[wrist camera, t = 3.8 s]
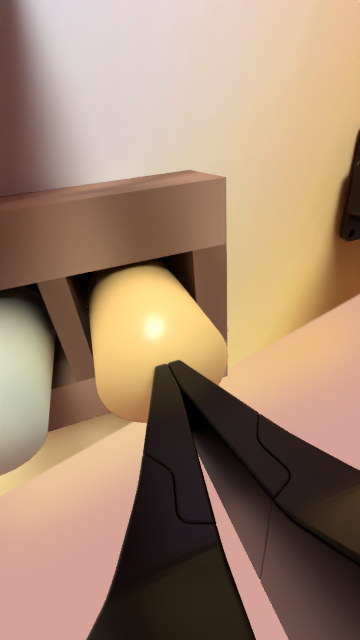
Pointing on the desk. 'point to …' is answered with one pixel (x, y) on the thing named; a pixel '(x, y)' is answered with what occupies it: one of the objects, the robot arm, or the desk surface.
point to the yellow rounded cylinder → (146, 334)
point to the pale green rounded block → (24, 375)
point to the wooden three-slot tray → (111, 259)
